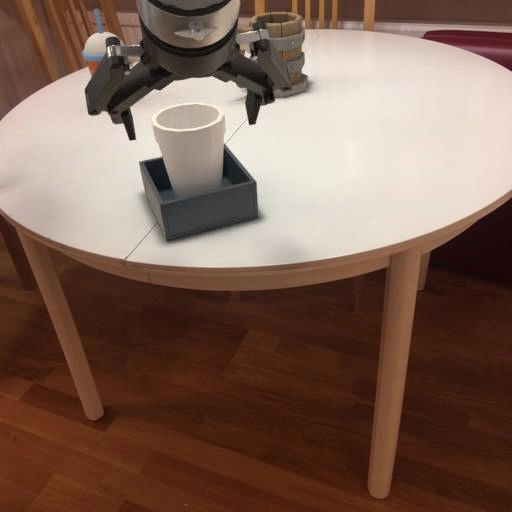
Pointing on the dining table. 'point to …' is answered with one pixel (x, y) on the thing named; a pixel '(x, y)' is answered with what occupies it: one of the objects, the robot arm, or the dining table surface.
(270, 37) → the tankard
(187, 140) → the foam cup
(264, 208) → the dining table surface
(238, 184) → the bin
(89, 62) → the cup with straw
